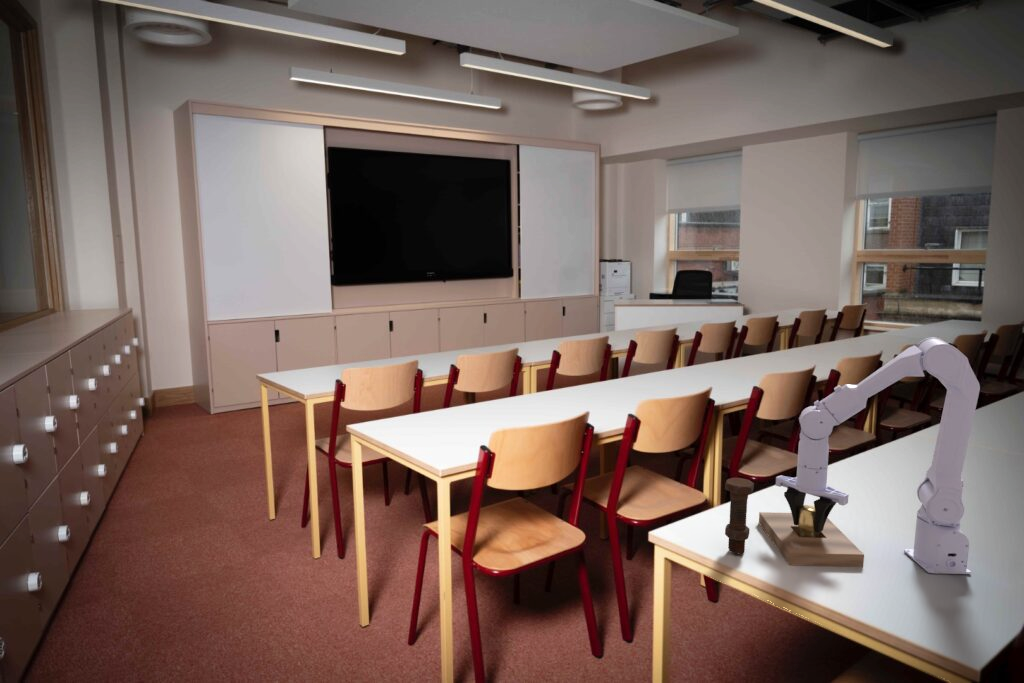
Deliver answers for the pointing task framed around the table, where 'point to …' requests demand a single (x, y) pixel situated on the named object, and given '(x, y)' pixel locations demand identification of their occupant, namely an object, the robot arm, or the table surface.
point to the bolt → (738, 513)
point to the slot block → (810, 543)
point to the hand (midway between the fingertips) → (808, 527)
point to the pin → (807, 522)
